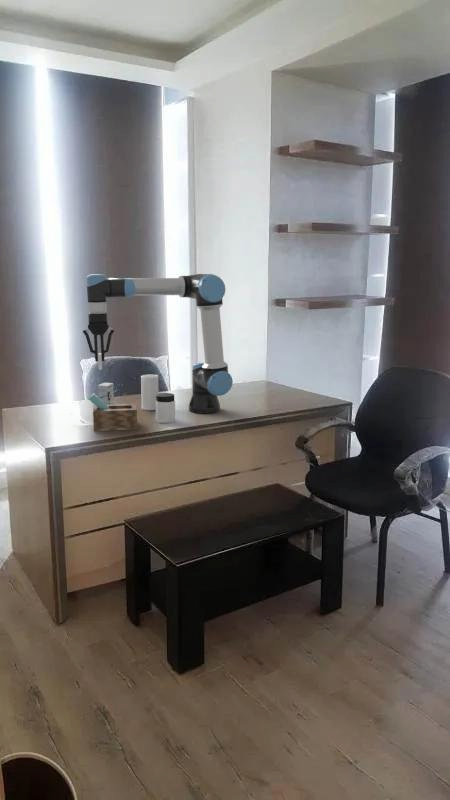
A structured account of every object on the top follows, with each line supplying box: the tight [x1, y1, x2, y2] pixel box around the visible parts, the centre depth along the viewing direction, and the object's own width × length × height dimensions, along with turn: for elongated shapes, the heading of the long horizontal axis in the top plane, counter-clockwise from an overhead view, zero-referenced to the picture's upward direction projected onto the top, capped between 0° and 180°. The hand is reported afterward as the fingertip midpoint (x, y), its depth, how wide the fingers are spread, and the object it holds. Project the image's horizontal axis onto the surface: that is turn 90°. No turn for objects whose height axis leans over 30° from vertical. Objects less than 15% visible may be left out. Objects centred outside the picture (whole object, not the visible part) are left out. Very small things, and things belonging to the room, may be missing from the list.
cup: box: [140, 373, 159, 411], centre depth 297 cm, size 8×8×16 cm
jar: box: [155, 392, 176, 424], centre depth 273 cm, size 9×8×12 cm
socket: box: [92, 403, 138, 432], centre depth 263 cm, size 18×12×8 cm, turn 102°
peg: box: [88, 393, 111, 409], centre depth 261 cm, size 3×3×16 cm
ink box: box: [97, 382, 115, 405], centre depth 297 cm, size 9×5×12 cm, turn 168°
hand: (100, 369), depth 257 cm, fingers closed
